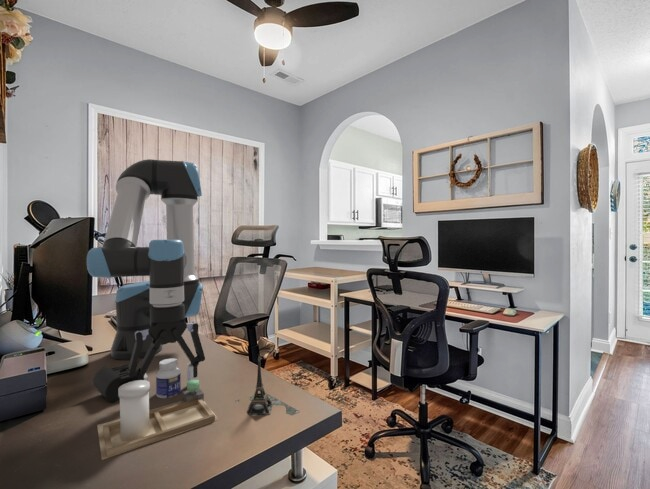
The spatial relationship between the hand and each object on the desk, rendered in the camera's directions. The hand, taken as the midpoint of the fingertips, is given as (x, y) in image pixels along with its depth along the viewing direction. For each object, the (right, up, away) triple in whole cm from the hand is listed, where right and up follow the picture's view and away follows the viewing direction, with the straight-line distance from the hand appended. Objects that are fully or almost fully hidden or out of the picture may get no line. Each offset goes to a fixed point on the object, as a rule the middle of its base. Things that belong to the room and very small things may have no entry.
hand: (168, 396), depth 80 cm
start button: (+7, +2, -4) cm, 9 cm away
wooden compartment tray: (+4, -1, -13) cm, 13 cm away
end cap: (-13, -1, 0) cm, 13 cm away
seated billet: (+1, +1, -16) cm, 17 cm away
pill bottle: (0, 0, 0) cm, 0 cm away
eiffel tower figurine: (+23, -1, -5) cm, 24 cm away
